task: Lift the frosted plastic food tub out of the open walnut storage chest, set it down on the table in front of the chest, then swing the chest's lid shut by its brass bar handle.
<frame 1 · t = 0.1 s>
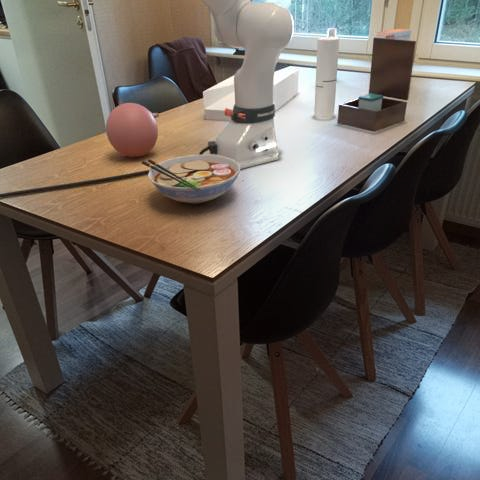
chest: (370, 124, 167), on the table
cracker box: (387, 86, 211), on the table
plastic bottle: (329, 78, 229), on the table
tub: (368, 122, 166), point 1 cm above the table, touching chest
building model: (254, 105, 195), on the table
balloon: (142, 154, 154), on the table
cylindrical container: (323, 117, 177), on the table
ramen bowl: (197, 198, 124), on the table
lid: (394, 67, 163), point 16 cm above the table, hinge at 88.0°
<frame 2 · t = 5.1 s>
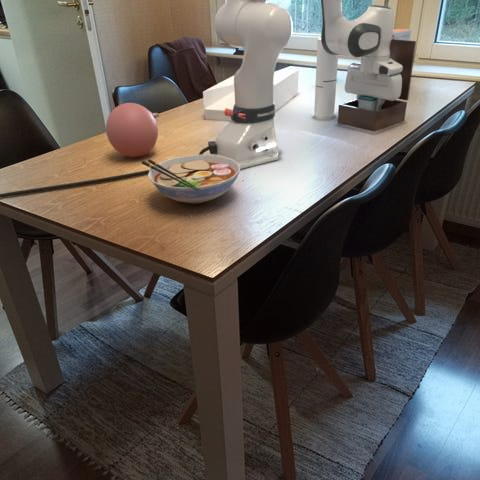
hand: (369, 110, 164), 5 cm above the table, tool pointing down, fingers closed on tub, 5 cm apart
tub: (368, 122, 166), point 1 cm above the table, touching chest, gripper
everything else where it was.
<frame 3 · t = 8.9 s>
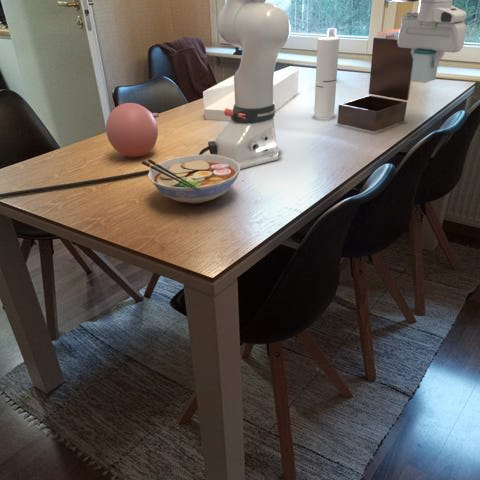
hand: (425, 66, 149), 19 cm above the table, tool pointing down, fingers closed on tub, 5 cm apart
tub: (422, 80, 151), point 15 cm above the table, touching gripper
everything else where it was.
when the fingers open (4 cm above the table, at t = 12.6 s): tub stays where it is, on the table.
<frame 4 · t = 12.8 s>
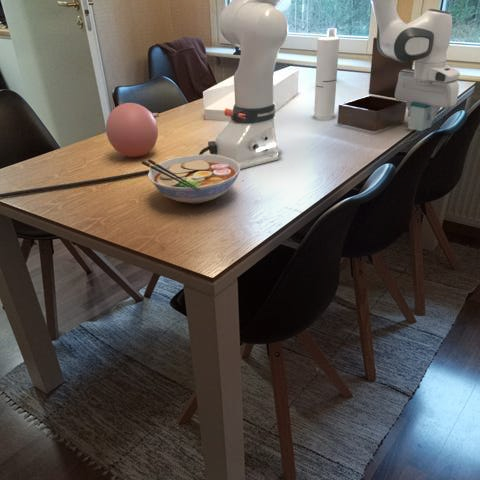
hand: (420, 118, 158), 4 cm above the table, tool pointing down, fingers open, 6 cm apart
tub: (419, 129, 160), on the table
everything else where it was.
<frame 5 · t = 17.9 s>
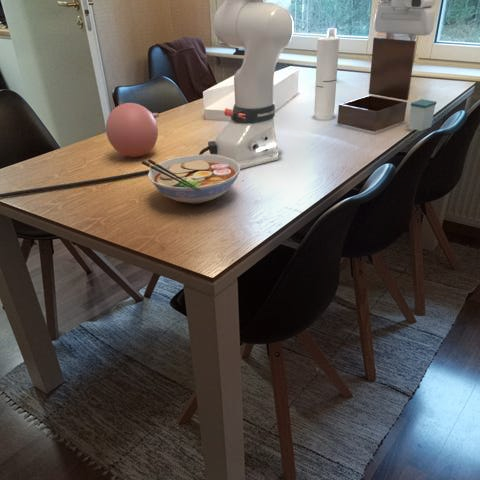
hand: (399, 49, 160), 21 cm above the table, tool pointing down, fingers closed on lid, 5 cm apart
lid: (394, 67, 163), point 16 cm above the table, hinge at 88.0°, touching gripper
everything else where it was.
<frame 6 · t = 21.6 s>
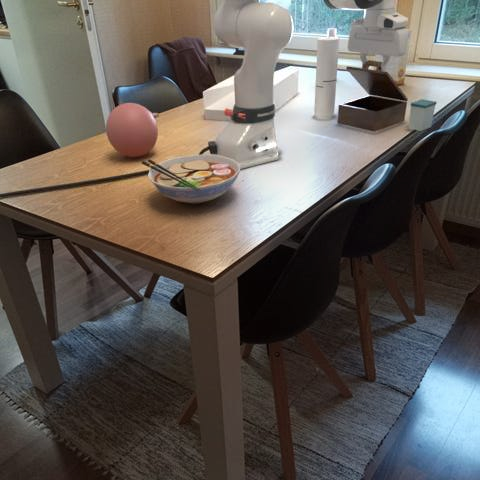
hand: (373, 69, 156), 17 cm above the table, tool pointing down, fingers closed on lid, 5 cm apart
lid: (380, 78, 160), point 14 cm above the table, hinge at 36.8°, touching gripper
everything else where it was.
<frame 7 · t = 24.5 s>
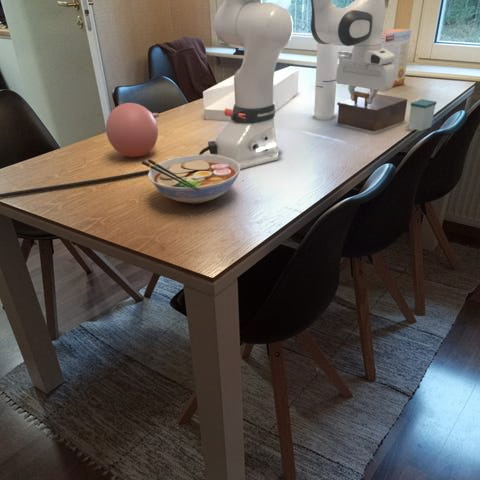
hand: (361, 101, 159), 8 cm above the table, tool pointing down, fingers closed on lid, 5 cm apart
lid: (372, 96, 162), point 9 cm above the table, hinge at -0.2°, touching chest, gripper
everything else where it was.
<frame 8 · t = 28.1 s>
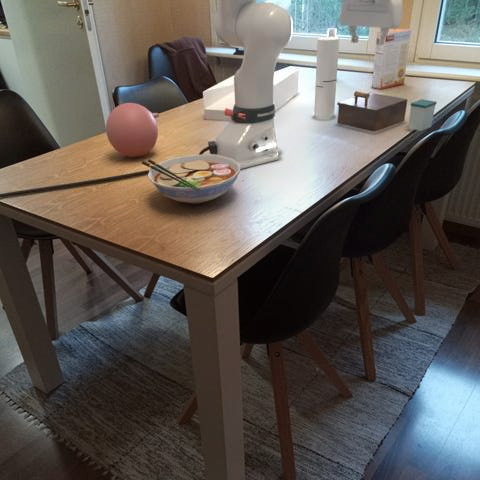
hand: (366, 43, 149), 25 cm above the table, tool pointing down, fingers open, 8 cm apart
lid: (372, 96, 162), point 9 cm above the table, hinge at -0.2°, touching chest
everything else where it was.
at the end: tub inside the target area (0.2 cm from its centre), on the table; tub tilted 0°; lid at +0° (first picture: +88°) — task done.
